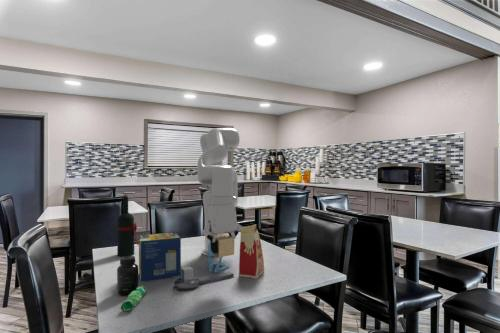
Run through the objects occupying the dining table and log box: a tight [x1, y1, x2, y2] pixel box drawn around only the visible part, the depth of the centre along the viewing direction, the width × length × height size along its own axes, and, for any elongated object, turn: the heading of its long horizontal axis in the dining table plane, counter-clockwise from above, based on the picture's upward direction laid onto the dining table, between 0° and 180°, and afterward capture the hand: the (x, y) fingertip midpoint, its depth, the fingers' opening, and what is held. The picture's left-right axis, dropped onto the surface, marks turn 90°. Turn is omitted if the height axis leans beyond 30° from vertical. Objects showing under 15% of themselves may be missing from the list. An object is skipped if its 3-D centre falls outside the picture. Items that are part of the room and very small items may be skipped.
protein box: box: [138, 231, 182, 283], centre depth 120 cm, size 10×15×16 cm
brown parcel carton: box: [211, 233, 235, 258], centre depth 107 cm, size 6×6×6 cm
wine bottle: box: [117, 193, 139, 258], centre depth 148 cm, size 8×10×30 cm
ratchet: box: [173, 265, 235, 292], centre depth 112 cm, size 23×9×6 cm, turn 123°
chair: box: [205, 242, 230, 274], centre depth 126 cm, size 8×8×12 cm
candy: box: [120, 285, 148, 313], centre depth 95 cm, size 12×3×4 cm
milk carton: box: [238, 224, 265, 280], centre depth 121 cm, size 9×9×20 cm
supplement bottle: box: [116, 255, 140, 297], centre depth 103 cm, size 7×7×12 cm
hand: (222, 250), depth 107 cm, fingers closed on brown parcel carton, 6 cm apart
